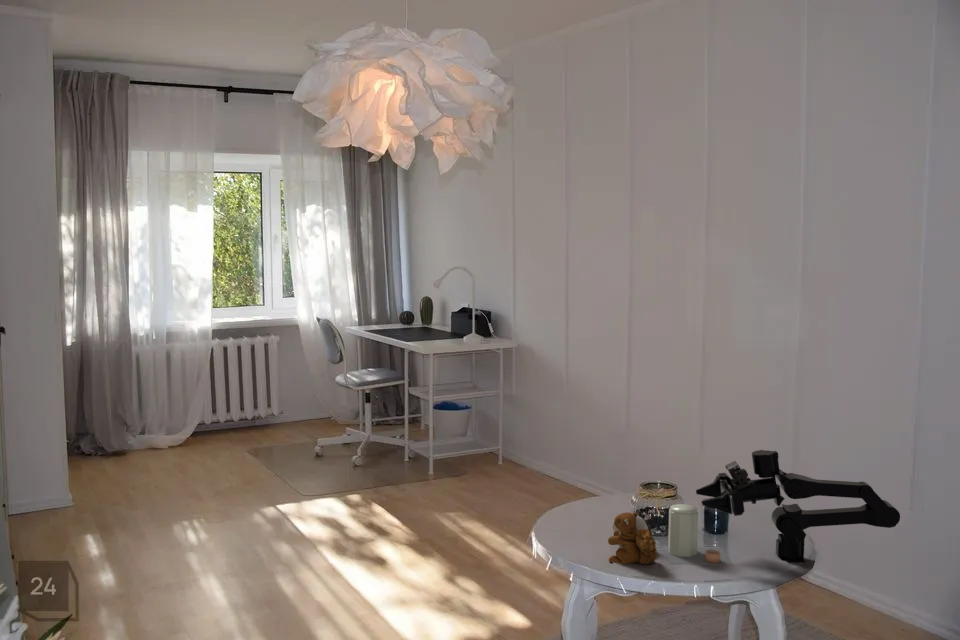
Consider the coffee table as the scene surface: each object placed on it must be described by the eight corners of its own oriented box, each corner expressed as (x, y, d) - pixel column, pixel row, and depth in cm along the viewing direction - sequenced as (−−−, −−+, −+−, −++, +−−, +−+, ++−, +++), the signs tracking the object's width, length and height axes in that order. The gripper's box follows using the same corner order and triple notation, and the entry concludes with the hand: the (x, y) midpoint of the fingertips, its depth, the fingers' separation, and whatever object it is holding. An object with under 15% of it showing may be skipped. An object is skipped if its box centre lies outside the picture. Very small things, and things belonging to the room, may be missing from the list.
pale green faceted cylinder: (693, 547, 253) (694, 504, 252) (698, 557, 246) (699, 512, 245) (667, 547, 254) (668, 503, 253) (670, 556, 246) (671, 511, 245)
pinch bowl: (718, 558, 245) (718, 549, 245) (721, 563, 241) (721, 554, 241) (703, 558, 245) (703, 549, 245) (706, 563, 241) (706, 554, 241)
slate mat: (723, 549, 254) (723, 547, 254) (733, 566, 240) (733, 565, 240) (662, 547, 255) (662, 546, 255) (669, 565, 241) (669, 563, 241)
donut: (611, 547, 255) (611, 512, 254) (614, 543, 258) (615, 509, 257) (646, 552, 251) (647, 517, 250) (649, 548, 254) (649, 513, 253)
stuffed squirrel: (620, 551, 252) (621, 505, 251) (666, 562, 243) (667, 514, 242) (602, 560, 244) (602, 513, 243) (648, 573, 235) (649, 523, 234)
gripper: (745, 452, 254) (689, 459, 255) (761, 472, 236) (701, 479, 237) (749, 489, 256) (694, 497, 257) (766, 512, 237) (706, 520, 238)
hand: (699, 497), depth 247 cm, fingers open, 9 cm apart
